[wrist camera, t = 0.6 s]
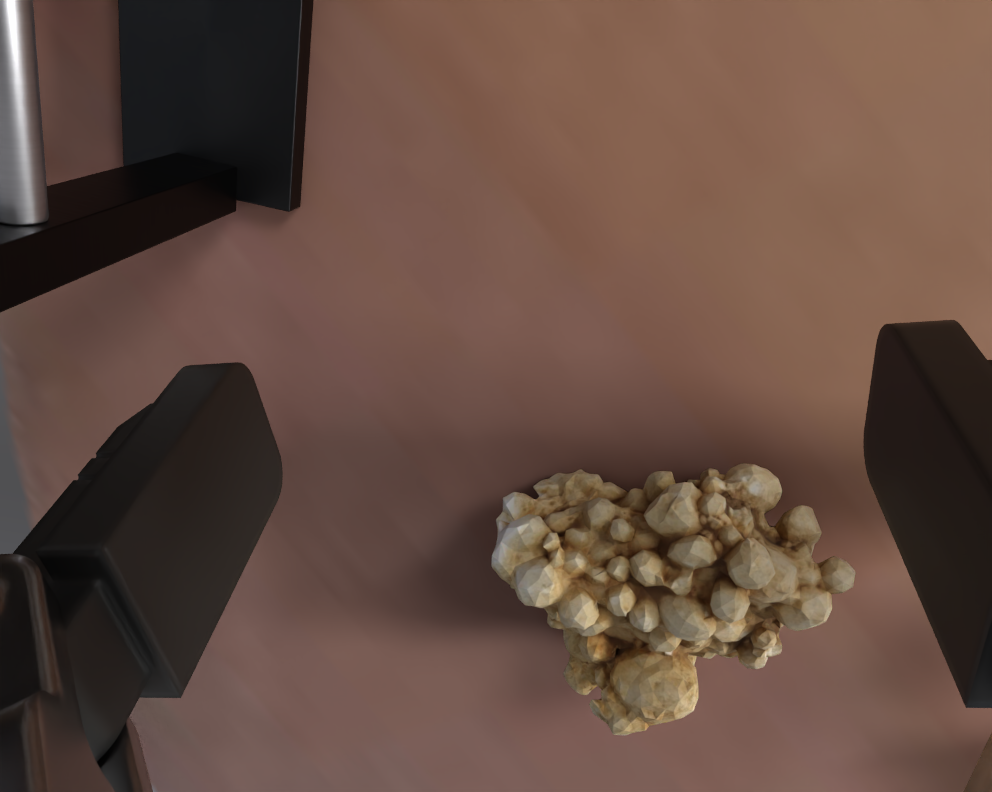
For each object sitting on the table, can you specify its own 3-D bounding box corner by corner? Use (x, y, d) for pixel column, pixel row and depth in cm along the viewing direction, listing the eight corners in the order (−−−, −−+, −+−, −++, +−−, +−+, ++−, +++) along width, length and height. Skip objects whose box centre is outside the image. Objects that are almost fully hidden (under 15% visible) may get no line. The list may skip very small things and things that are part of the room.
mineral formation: (486, 466, 41) (791, 374, 35) (595, 638, 47) (872, 585, 41) (450, 588, 34) (818, 501, 28) (582, 769, 40) (909, 729, 34)
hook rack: (128, -232, 31) (-331, -445, 17) (326, -198, 30) (18, -394, 16) (138, 181, 38) (-181, 276, 24) (299, 217, 37) (68, 338, 23)
